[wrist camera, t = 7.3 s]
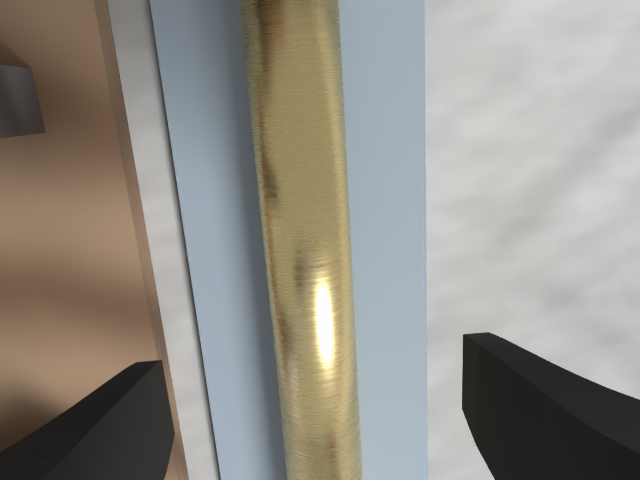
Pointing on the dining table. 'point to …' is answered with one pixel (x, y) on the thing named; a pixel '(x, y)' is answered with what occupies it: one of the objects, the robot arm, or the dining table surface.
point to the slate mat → (247, 239)
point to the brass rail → (306, 228)
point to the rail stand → (69, 220)
